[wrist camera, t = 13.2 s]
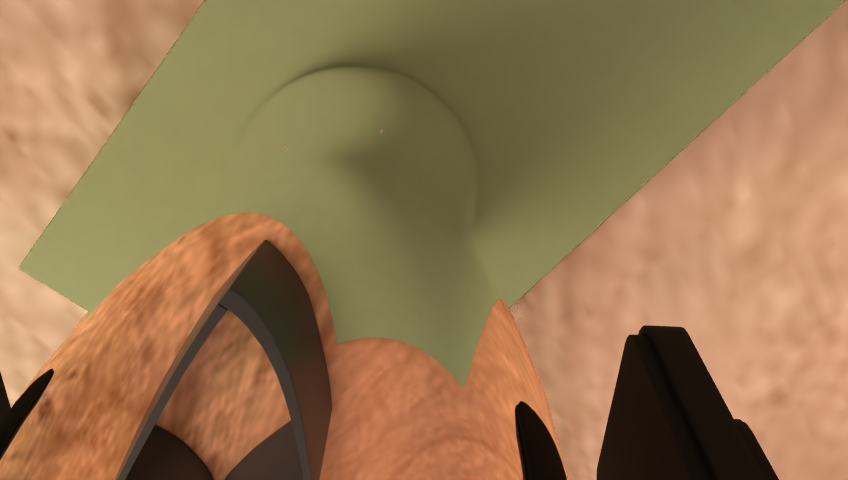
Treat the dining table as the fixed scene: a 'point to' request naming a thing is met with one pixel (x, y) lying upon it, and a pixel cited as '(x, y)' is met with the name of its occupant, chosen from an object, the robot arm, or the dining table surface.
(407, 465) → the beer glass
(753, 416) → the dining table surface
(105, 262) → the drying mat
